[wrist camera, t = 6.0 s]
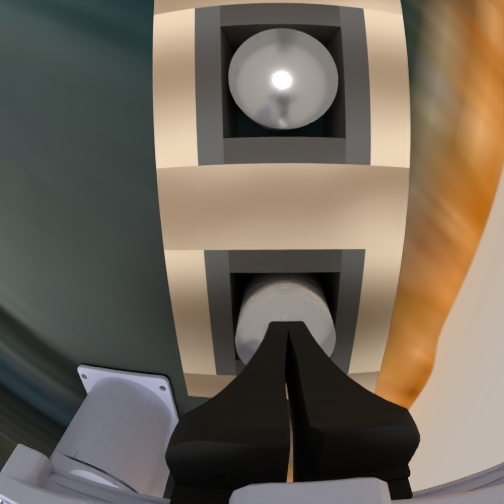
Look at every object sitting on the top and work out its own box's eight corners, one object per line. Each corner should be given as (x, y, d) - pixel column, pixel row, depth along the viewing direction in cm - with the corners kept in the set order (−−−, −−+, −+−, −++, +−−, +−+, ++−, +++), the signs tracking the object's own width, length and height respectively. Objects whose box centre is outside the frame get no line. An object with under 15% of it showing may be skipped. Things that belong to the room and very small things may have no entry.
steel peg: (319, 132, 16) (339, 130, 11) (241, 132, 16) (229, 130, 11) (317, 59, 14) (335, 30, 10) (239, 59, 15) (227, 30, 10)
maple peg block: (355, 342, 20) (373, 394, 15) (204, 343, 21) (188, 395, 16) (366, 17, 13) (397, -17, 9) (184, 18, 14) (155, -17, 9)
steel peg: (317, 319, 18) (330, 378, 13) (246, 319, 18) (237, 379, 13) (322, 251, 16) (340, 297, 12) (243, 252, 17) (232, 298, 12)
